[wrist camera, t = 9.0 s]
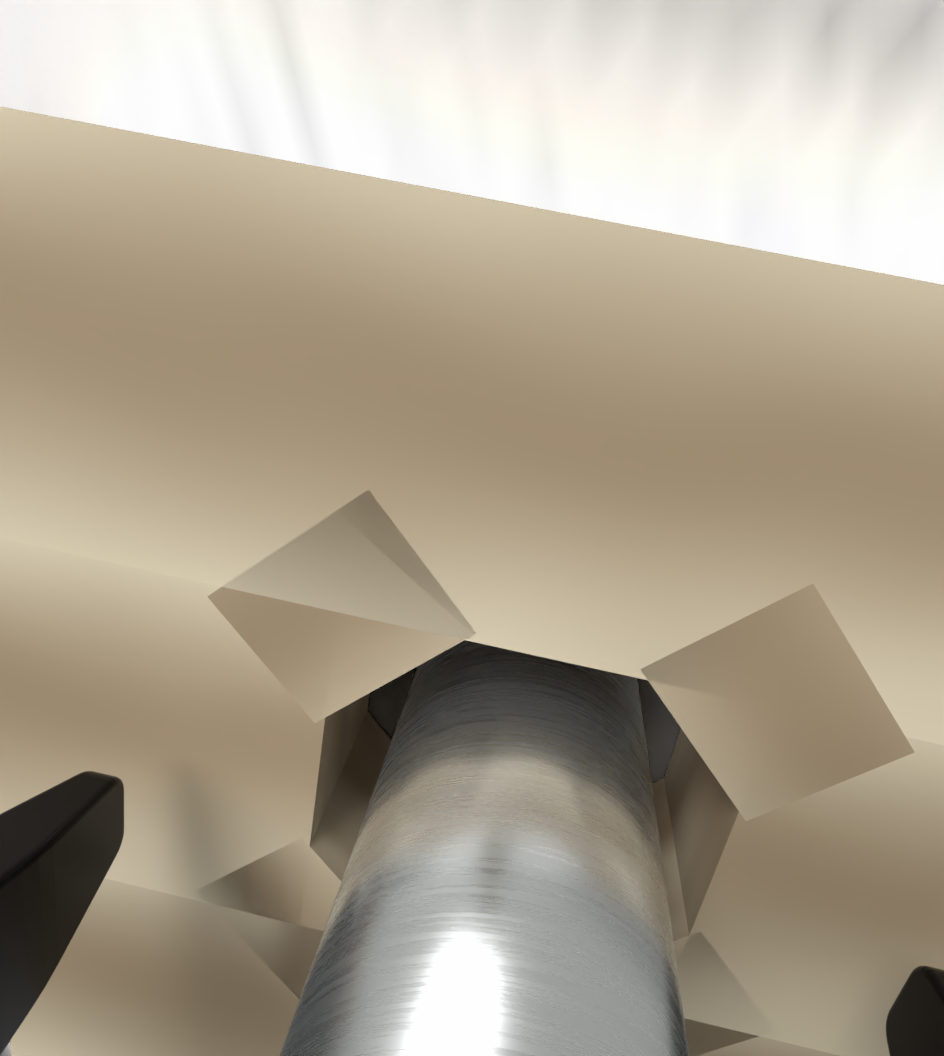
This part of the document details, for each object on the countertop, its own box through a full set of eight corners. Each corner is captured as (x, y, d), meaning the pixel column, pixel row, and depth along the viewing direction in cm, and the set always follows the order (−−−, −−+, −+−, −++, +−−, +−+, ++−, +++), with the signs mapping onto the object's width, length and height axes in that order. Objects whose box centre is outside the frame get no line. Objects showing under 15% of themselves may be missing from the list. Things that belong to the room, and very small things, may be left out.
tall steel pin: (607, 796, 13) (652, 1579, 5) (404, 750, 13) (179, 1446, 6) (663, 616, 11) (827, 1330, 4) (436, 568, 12) (196, 1168, 4)
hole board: (813, 1074, 15) (868, 1274, 12) (113, 905, 15) (10, 1055, 12) (1214, 338, 9) (1493, 388, 6) (103, 128, 10) (-80, 91, 7)
